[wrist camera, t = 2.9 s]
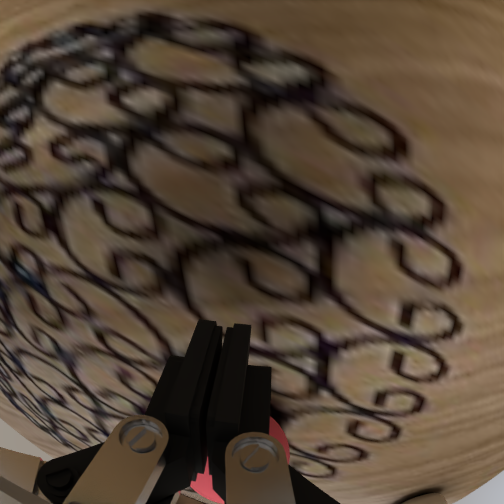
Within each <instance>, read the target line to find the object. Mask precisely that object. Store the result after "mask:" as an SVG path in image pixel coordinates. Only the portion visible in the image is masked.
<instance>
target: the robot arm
mask: <svg viewBox="0 0 504 504" xmlns="http://www.w3.org/2000/svg"><path fill="white" fill-rule="evenodd" d="M250 335H251V325H246V324H236V323H234V327H233V328H231V327H227V330H226V334H225V338H224V343H223V347H222V326H217V323H216V321H209V320H200V319H199V321H198V323H197V326H196V328H195V331H194V333H193V336H192V339H191V341H190V344H189V347H188V349H187V352H186V355H185V357H180V356H173V355H171V356H170V357H169V359H168V361H167V363H166V365H165V368H164V370H163V373H162V375H161V377H160V380H159V382H158V384H157V387H156V389H155V391H154V394H153V396H152V399H151V401H150V403H149V406H148V408H147V411H146V413H145V415H134V416H130V417H127V418H125V419H124V420H122V421H120V422H119V424H118V425H117V426H116V427H115V428H114V430H113V431H112V433H111V434H110V435H109V437H108V438H107V440H106V441H105V442H103V443H100V444H98V445H95V446H92V447H89V448H86V449H83V450H80V451H77V452H74V453H71V454H68V455H65V456H62V457H58V458H55V459H52V460H50V461H48V462H46V461H43V460H42V459H41V458H40V457H35V456H31V455H27V454H23V453H19V452H15V451H12V450H8V449H5V448H1V447H0V504H176V502H177V500H178V498H179V496H180V491H181V490H183V489H185V488H187V487H189V486H190V485H191V481H195V482H196V479H197V474H198V473H200V474H204V472H205V467H206V462H207V457H208V467H209V475H212V487H213V490H214V491H215V492H216V493H217V494H218V495H219V496H220V497H221V499H222V500H223V501H224V504H340V503H339V502H337V501H336V500H335V499H333V498H332V497H330V496H329V495H328V494H326V493H325V492H323V491H322V490H321V489H319V488H318V487H317V486H315V485H314V484H313V483H311V482H310V481H309V480H307V479H306V478H305V477H303V476H302V475H301V474H300V473H298V472H297V471H296V470H295V469H293V468H292V467H291V466H290V465H288V463H287V457H286V452H285V450H284V448H283V445H282V444H281V443H280V442H279V441H278V440H277V439H275V438H274V437H272V436H271V435H269V428H270V401H271V367H264V366H253V365H248V358H249V346H250Z"/></svg>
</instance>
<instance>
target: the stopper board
mask: <svg viewBox="0 0 504 504" xmlns="http://www.w3.org/2000/svg"><path fill="white" fill-rule="evenodd" d="M176 504H205V503H202V502H199V501H197V500H194V499H192V498H189V497H187V496H184V495H182V494H180V496H179V498H178V500H177V502H176Z"/></svg>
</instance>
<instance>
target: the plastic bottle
mask: <svg viewBox="0 0 504 504" xmlns="http://www.w3.org/2000/svg"><path fill="white" fill-rule="evenodd" d="M402 504H447V502H446V500H445V498H444V497H443V496H442V495H441V494H439V493H430V494H425V495H422V496H418V497H415V498H413V499H410V500H408V501H406V502H403V503H402Z"/></svg>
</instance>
